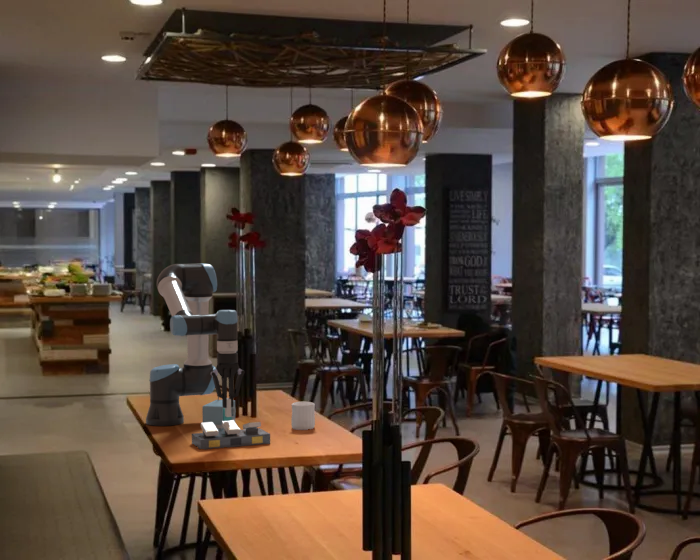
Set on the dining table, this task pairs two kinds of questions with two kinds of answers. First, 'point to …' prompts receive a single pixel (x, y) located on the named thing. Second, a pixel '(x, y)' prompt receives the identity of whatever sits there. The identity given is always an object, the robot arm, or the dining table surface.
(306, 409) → the cup
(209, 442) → the console
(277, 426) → the dining table surface
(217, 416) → the radio
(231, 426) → the rocker
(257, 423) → the rocker
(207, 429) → the rocker
